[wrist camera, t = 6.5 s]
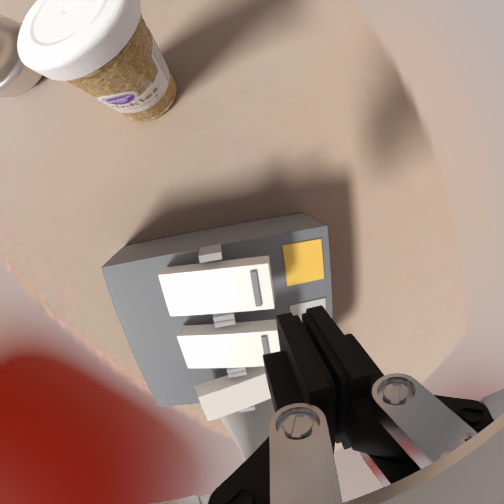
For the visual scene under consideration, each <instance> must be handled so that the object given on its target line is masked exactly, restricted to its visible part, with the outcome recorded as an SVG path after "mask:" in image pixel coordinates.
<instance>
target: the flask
mask: <svg viewBox="0 0 504 504" xmlns="http://www.w3.org/2000/svg"><path fill="white" fill-rule="evenodd" d="M274 413H275V411H274V407H273V403H272V399H268V400H266V401H263V402H261V403H258V404H256V405H255V410H252V411H247V412H241V413H239V411H237V412H234V413H231V414H229V415H226V416H223V417H220V418H221V419H222V421H223V422H224V424H225V426H226V427H227V429H228V431H229V432H230V434H231V436H232V437H233V439H234V441H235V443H236V444H237V446H238V448H239V449H240V451H241V454H242V457H243V460H244V462H245V461H246V460H247V459H248V458H249V457H250V456H251V455H252V454H253V453H254V452H255V451H256V449H257V448H258V447H259V446H260V445H261V444H262V443H263V442H264V441H265V440H266V439H267V438H268V437H269V424H270V419H271V418H272V416H273V415H274Z"/></svg>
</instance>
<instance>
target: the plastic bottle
mask: <svg viewBox="0 0 504 504" xmlns="http://www.w3.org/2000/svg"><path fill="white" fill-rule="evenodd" d="M21 25H22V23H19V22H16V21H14V20H12V19H10V18H7V17H5V16H2V15H0V97H16V96H19V95H21V94H23V93H25V92H26V91H28V90H29V89H31V88H32V87H33V86H34V85H36V83H37V82H38V81H39V80H40V79H41V77H42V76H43V75H41V74H39V73H37V72H35V71H34V70H32V69H30V68H28V67H27V66H25V65H24V63H23V62H22V61H21V59H20V57H19V54H18V50H17V40H18V35H19V31H20V28H21Z"/></svg>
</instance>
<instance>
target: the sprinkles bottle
mask: <svg viewBox="0 0 504 504" xmlns="http://www.w3.org/2000/svg"><path fill="white" fill-rule="evenodd" d="M17 50H18V54H19V57H20V59H21V61H22V62H23V63H24V65H25V66H27V67H28V68H30V69H32V70H34V71H35V72H37V73H39V74H41V75H43V76H45V77H47V78H50V79H52V80H58V81H67V82H69V83H71V84H72V85H74V86H76V87H78V88H80V89H81V90H84V91H85V92H87V93H89V94H90V95H92V96H94V97H95V98H96V99H97V100H99V101H101V102H102V103H104V104H106V105H108V106H110V107H111V108H113V109H115V110H117V111H120V112H122V113H123V114H124V115H125V116H126V117H127V118H129V119H132V120H134V121H140V122H147V121H152V120H154V119H156V118H159V117H160V116H162V115H163V114H164V113H165V112H166V111H167V110H169V108H170V107H171V105H172V104H173V102H174V99H175V96H176V89H177V85H176V83H175V79H174V77H173V76H172V74H171V73H170V72H169V70H168V67H167V64H166V62H165V60H164V58H163V56H162V54H161V52H160V50H159V48H158V46H157V44H156V42H155V40H154V38H153V36H152V33H151V32H150V30H149V29H148V27H147V26H146V24H145V21H144V20H143V18H142V15H141V4H140V1H139V0H37V1H36V2H35V4H34V5H33V6H32V8H31V9H30V10H29V12H28V13H27V15H26V17H25V19H24V21H23V23H22V25H21V28H20V31H19V35H18V40H17Z"/></svg>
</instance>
